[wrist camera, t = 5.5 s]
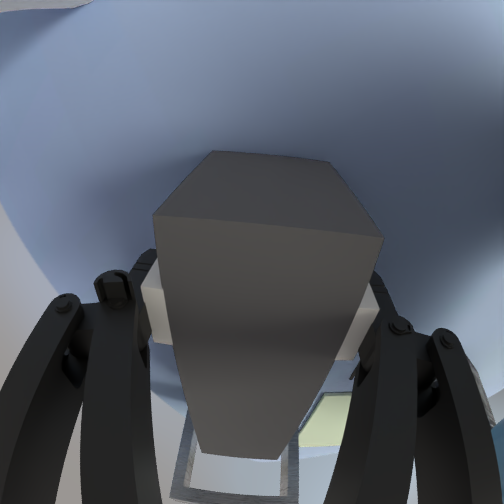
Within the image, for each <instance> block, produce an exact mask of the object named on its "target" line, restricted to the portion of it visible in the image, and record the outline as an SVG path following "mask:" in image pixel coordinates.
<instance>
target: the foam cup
mask: <svg viewBox="0 0 504 504" xmlns="http://www.w3.org/2000/svg"><path fill="white" fill-rule="evenodd" d="M91 1H93V0H0V13H1V12H8V11H17V10H29V9H65V8H71V9H72V8H75V7H78V6H81V5H85V4H88V3H90V2H91Z"/></svg>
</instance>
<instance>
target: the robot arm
mask: <svg viewBox="0 0 504 504" xmlns="http://www.w3.org/2000/svg"><path fill="white" fill-rule="evenodd" d="M93 284H94V287H95V290H96V293H97V296H98V299H99V303H88V304H81V302H80V299H79V298H78V297H77V296H76V295H74V294H72V293H66V294H62V295H59V296H58V297H56V298H55V299H54V300H53V301H52V302H51V303H50V304H49V306H48V307H47V309H46V310H45V312H44V314H43V315H42V316H41V318H40V320H39V321H38V323H37V325H36V326H35V328H34V329H33V331H32V333H31V334H30V336H29V338H28V339H27V341H26V343H25V344H24V346H23V348H22V350H21V351H20V353H19V355H18V357H17V359H16V361H15V362H14V365H13V366H12V368H11V370H10V372H9V374H8V376H7V378H6V380H5V382H4V384H3V386H2V389H1V391H0V504H55V501H56V496H57V491H58V486H59V482H60V477H61V473H62V469H63V465H64V461H65V457H66V454H67V449H68V446H69V443H70V439H71V436H72V433H73V429H74V426H75V423H76V420H77V417H78V414H79V411H80V408H81V405H82V402H83V407H82V420H81V440H80V441H81V442H80V476H81V495H82V504H162V499H161V493H160V487H159V481H158V474H157V465H156V457H155V448H154V438H153V427H152V414H151V413H152V412H151V393H150V349H149V345H148V340H149V337H150V335H151V333H152V337H153V340H154V342H157V343H162V344H168V345H173V342H172V337H171V332H170V327H169V321H168V316H167V310H166V304H165V298H164V291H163V289H162V286H161V279H160V272H159V265H158V258H157V250H156V249H149V250H147V251H146V252H144V253H143V254H142V255H141V256H140V257H139V259H138V260H137V262H136V264H135V265H134V266H133V268H132V270H131V271H130V272H129V274H128V273H127V272H125V271H123V270H111V271H107V272H105V273H103V274H101V275H100V276H98V277H97V278H96V280H95V281H94V283H93ZM357 352H359V356H360V361H359V363H358V364H357V366H356V368H355V369H354V371H353V373H352V374H351V376H350V380H352V379H353V377H354V376H355V378H354V384H353V390H352V395H351V401H350V406H349V411H348V416H347V420H346V425H345V430H344V434H343V438H342V442H341V446H340V450H339V454H338V458H337V461H336V465H335V469H334V472H333V475H332V479H331V482H330V485H329V488H328V491H327V494H326V498H325V500H324V503H323V504H407V499H408V494H409V489H410V483H411V476H412V469H413V461H414V458H415V467H416V478H417V491H418V504H504V419H502V420H501V421H500V422H499V423H498V424H496V425H495V426H494V427H493V428H492V430H491V429H490V425H489V422H488V418H487V415H486V411H485V408H484V404H483V401H482V398H481V395H480V392H479V389H478V386H477V383H476V381H475V378H474V375H473V372H472V370H471V367H470V365H469V362H468V360H467V357H466V355H465V352H464V350H463V348H462V345H461V343H460V341H459V339H458V337H457V336H456V335H455V334H454V333H453V332H452V331H450V330H448V329H445V328H438V329H436V330H435V331H434V332H433V334H432V335H431V336H428V335H424V334H421V333H417V332H415V331H414V329H413V326H412V325H411V323H410V322H409V321H408V320H406V319H405V318H403V317H401V316H399V315H398V314H397V312H396V309H395V307H394V305H393V302H392V300H391V298H390V296H389V294H388V291H387V289H386V287H385V285H384V283H383V281H382V278H381V277H380V276H379V275H378V274H377V273H376V272H375V271H374V270H373V273H372V275H371V278H370V281H369V283H368V286H367V289H366V291H365V294H364V296H363V299H362V301H361V304H360V306H359V308H358V310H357V313H356V315H355V317H354V319H353V322H352V324H351V326H350V328H349V331H348V333H347V335H346V337H345V339H344V342H343V344H342V346H341V348H340V350H339V352H338V354H337V356H336V358H335V360H353V359H354V358H355V356H356V354H357ZM436 379H437V382H438V385H439V386H438V387H436V385H435V382H434V381H435V380H436Z"/></svg>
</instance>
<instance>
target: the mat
mask: <svg viewBox="0 0 504 504" xmlns="http://www.w3.org/2000/svg"><path fill="white" fill-rule="evenodd" d="M351 395H352V392H346V393H324V395H323V396H322V398H321V400H320V401H319V403H318V405H317V406H316V408H315V409H314V411H313V413H312V414H311V416H310V417H309V419H308V420H307V422H306V423H305V425H304V426H303V428H302V429H301V431H300V432H299V447H318V446H337V445H341V442H342V438H343V434H344V430H345V425H346V420H347V416H348V411H349V406H350V401H351Z"/></svg>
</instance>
